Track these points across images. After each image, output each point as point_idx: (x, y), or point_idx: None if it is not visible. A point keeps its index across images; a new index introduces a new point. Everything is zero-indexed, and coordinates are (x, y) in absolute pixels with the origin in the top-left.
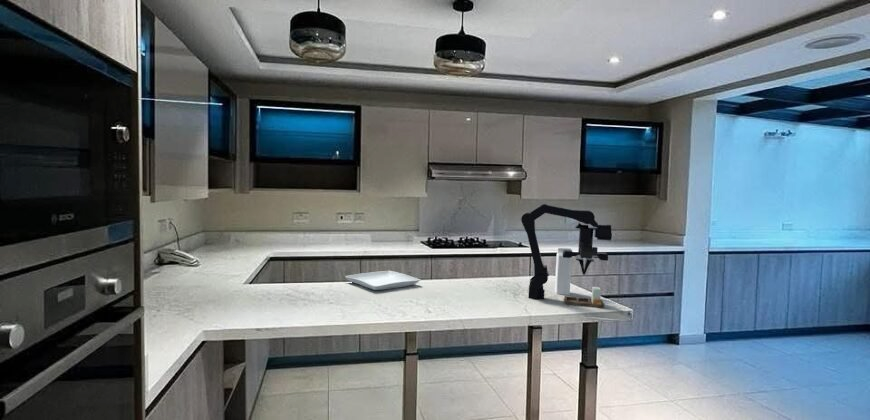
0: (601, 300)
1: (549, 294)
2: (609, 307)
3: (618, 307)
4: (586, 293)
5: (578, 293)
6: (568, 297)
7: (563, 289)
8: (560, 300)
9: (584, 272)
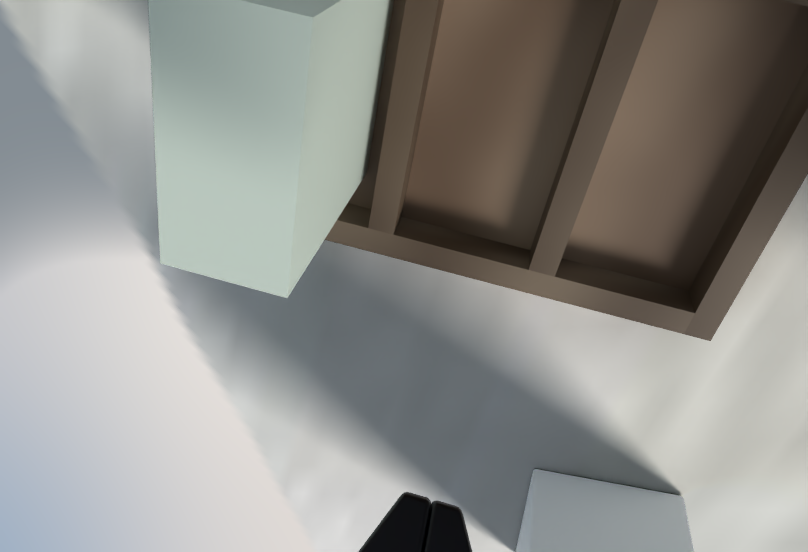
0: None
1: (750, 534)
2: None
3: (46, 38)
4: (316, 540)
5: None
6: (664, 300)
7: (611, 546)
8: (751, 311)
9: (409, 550)
